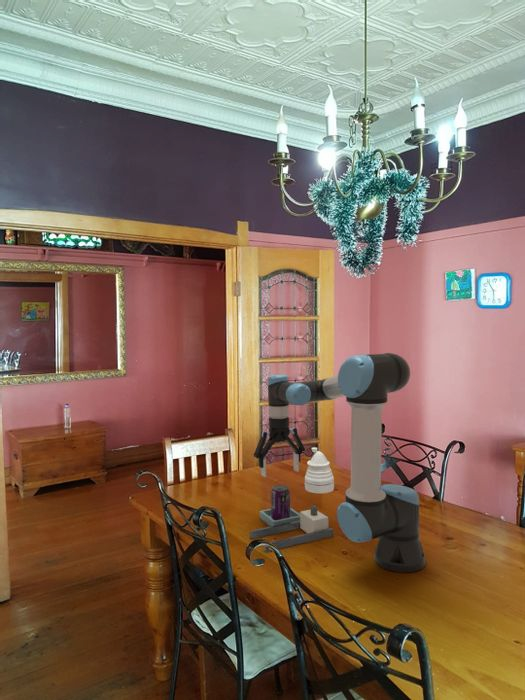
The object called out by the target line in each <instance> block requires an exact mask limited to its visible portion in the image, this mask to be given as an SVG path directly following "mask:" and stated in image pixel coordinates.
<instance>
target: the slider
mask: <svg viewBox="0 0 525 700" xmlns="http://www.w3.org/2000/svg"><path fill="white" fill-rule="evenodd" d="M309 507H310V509H306V510H301V511H299V514H300V529H301V530H302V531H304V532H305V534H307V533H311V532H316V531H320V530H325V529H329V516H327V515H325V514H324V513H322V512H320V511H319V510H318V505H316V504H311V505H310V506H309Z"/></svg>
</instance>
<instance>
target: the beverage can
mask: <svg viewBox="0 0 525 700" xmlns="http://www.w3.org/2000/svg"><path fill="white" fill-rule="evenodd" d="M290 508H291V492H290V490H289V486H288V485H285V484H284V485H283V484H276V485H273V486H272V487H271V491H270V509H271V518H272V519H273V520H280V519H285V518H290Z"/></svg>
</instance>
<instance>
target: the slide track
mask: <svg viewBox="0 0 525 700" xmlns="http://www.w3.org/2000/svg"><path fill="white" fill-rule="evenodd" d="M299 529H301V528H300V520H298V521H294V522H289V523H284V524H279V525H275V526H270V527H269V526H266V527H262V528H261V527H260V528H256V529H253V530H249V538H250V539H251V540H253V539H258V537H259V538H263V537H268V536H272V534H273V535H277V534H280V533H281V532H282V533H285V532H291V531H294V530H295V531H296V530H299ZM331 537H334V528H332V527H330V528H329V529H325V530H320V531H316V532H311V533H303V534H299V535H294V536H289V537H284V538H282V539H276V540H272V541H270V542H271V543H272V544H273V545H275V546H276V547H277V548H279V549H278V550H280V549H284V548H289V547H293V546H298V545H302V544H306V543H310V542H311V543H312V542H315V541H320V540H323V539H328V538H331ZM263 551H264V552H265V553H267V552H272V551H271V550H270V549H269V547H266V546H264V545H263Z"/></svg>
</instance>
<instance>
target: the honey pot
mask: <svg viewBox="0 0 525 700" xmlns="http://www.w3.org/2000/svg"><path fill="white" fill-rule="evenodd" d="M311 451H312V452H313V453H314V454H313V455H312V457H311V459H310V460H307V462H306V464H307V469H306V472H305V475H304V490H305V491H306V492H309V493H313V494H327V493H331V492H333V491H334V490H335V478H334V475H333V472H332V468H331V467H330V464H331V462H330V461H329V460H328V459H327V456H325V454H324V453H323V452H322V451H320V450H318V447H311Z"/></svg>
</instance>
